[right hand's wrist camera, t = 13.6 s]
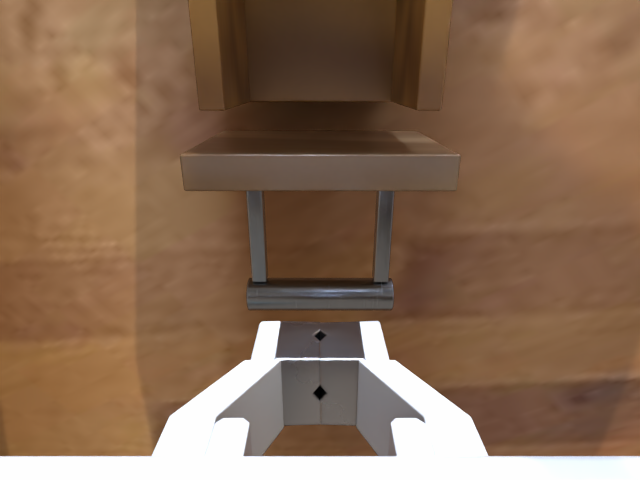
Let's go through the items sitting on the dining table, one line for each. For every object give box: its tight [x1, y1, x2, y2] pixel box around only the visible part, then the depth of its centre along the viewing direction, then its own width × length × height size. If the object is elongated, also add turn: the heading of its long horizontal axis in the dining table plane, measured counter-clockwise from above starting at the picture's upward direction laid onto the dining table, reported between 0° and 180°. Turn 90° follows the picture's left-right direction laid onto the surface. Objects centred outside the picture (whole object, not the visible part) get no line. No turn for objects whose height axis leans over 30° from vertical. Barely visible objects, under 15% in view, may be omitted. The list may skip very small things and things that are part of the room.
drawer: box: [180, 0, 461, 311], centre depth 14 cm, size 22×9×6 cm, turn 0°
